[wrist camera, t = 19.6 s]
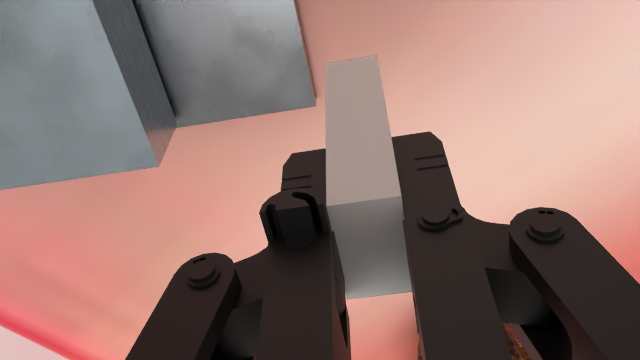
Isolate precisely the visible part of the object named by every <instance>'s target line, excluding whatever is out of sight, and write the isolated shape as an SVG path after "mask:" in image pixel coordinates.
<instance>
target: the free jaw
mask: <svg viewBox="0 0 640 360" xmlns="http://www.w3.org/2000/svg"><path fill="white" fill-rule="evenodd" d="M176 125H177V122H176V120H175V117H174V114H173V111H172V109H171V106H170V103H169V100H168V98H167V95H166V92H165V90H164V87H163V84H162V81H161V79H160V76H159V73H158V70H157V68H156V65H155V62H154V59H153V57H152V54H151V51H150V48H149V46H148V43H147V40H146V37H145V35H144V32H143V29H142V27H141V24H140V21H139V18H138V16H137V13H136V10H135V7H134V5H133V2H132V0H0V190H4V189H10V188H17V187H24V186H31V185H37V184H44V183H51V182H58V181H64V180H71V179H78V178H85V177H91V176H98V175H105V174H112V173H118V172H125V171H132V170H139V169H145V168H152V167H159V165H160V163H161V161H162V158H163V156H164V154H165V151H166V149H167V147H168V144H169V142H170V139H171V137H172V135H173V132H174V130H175V128H176Z"/></svg>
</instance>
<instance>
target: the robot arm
mask: <svg viewBox="0 0 640 360" xmlns="http://www.w3.org/2000/svg"><path fill="white" fill-rule="evenodd" d="M325 112H326V149H319V150H312V151H306V152H299V153H292V154H291V156H290V157H289V159H288V160H287V161H286V163H285V164H284V166H283V173H282V184H281V192H279V193H277V194H275V195H274V196H272V197H270V198H269V199H268V200H267V201H266V202H265V203H264V204H263V205H262V207H261V210H260V212H259V214H260V217H261V220H262V223H263V227H264V230H265V233H266V236H267V240H268V246H267V247H266V248H265V249H264V250H262V251H261V252H259V253H258V254H255V255H253V256H251V257H249V258H246V259H244V260H241V261H238V262H236V263H233V261H232V259H230V258H229V257H228V256H226V255H224V254H219V253H208V254H202V255H199V256H197V257H194V258H192V259H190V260H189V261H187V262H186V263H184V264H183V265H182V266H181V267H180V268H179V269H178V270H177V272H176V273H175V274H174V276H173V278H172V279H171V281H170V283H169V285H168V286H167V288H166V290H165V292H164V293H163V295H162V297H161V298H160V300H159V302H158V304H157V305H156V307H155V309H154V311H153V312H152V314H151V316H150V318H149V319H148V321H147V323H146V325H145V326H144V328H143V330H142V331H141V333H140V335H139V337H138V338H137V340H136V342H135V344H134V345H133V347H132V349H131V351H130V352H129V354H128V356H127V357H126V359H125V360H351V346H350V326H349V316H348V311H347V307H346V300H345V292H346V297H347V299H355V298H364V297H372V296H380V295H388V294H396V293H405V292H413V300H414V308H415V315H416V323H417V331H418V333H419V340H420V346H421V352H422V359H423V360H512V357H511V353H510V350H509V347H508V344H507V340H506V337H505V334H504V330H503V327H502V324H501V322H505V323H510V326H511V328H512V330H513V332H514V333H515V335H516V336H517V338H518V339H519V341H520V342H521V344H522V346H523V347H524V349H525V350H526V352H527V353H528V355H529V356H530V358H531V359H532V360H640V284H639V283H638V282H637V281H636V280H635V279H634V278H633V277H632V276H631V275H630V274H629V273H628V272H627V271H626V270H625V269H624V268H623V267H622V266H621V265H620V264H619V263H618V262H617V261H616V259H615V258H614V257H613V256H612V255H611V254H610V253H609V252H608V251H607V250H606V249H605V248H604V247H603V246H602V245H601V244H600V243H599V242H598V241H597V240H596V239H595V238H594V237H593V236H592V235H591V234H590V233H589V232H588V231H587V230H586V229H585V227H584V226H583V225H582V224H581V223H580V222H579V221H578V220H577V219H575V218H574V217H573V216H571V215H570V214H568V213H567V212H564V211H561V210H558V209H555V208H544V207H539V208H533V209H527V210H525V211H523V212H521V213H519V214H517V215H516V216H515V217H514V218H513V219H512V221H511V222H510V225H507V224H496V223H490V222H484V221H482V220H479V219H476V218H474V217H472V216H471V215H469V214H468V213H467V212H466V211H465V209H464V208H463V207H462V206H461V204H460V201H459V198H458V195H457V191H456V188H455V185H454V181H453V178H452V175H451V171H450V168H449V165H448V161H447V158H446V155H445V151H444V148H443V144H442V141H441V140H439V139H438V138H437V137H436V136H435V135H434V134H432V133H431V132H423V133H416V134H410V135H403V136H396V137H391V133H390V127H389V121H388V116H387V110H386V104H385V98H384V93H383V87H382V81H381V75H380V70H379V64H378V58H377V55H374V56H368V57H362V58H356V59H350V60H344V61H337V62H331V63H325Z"/></svg>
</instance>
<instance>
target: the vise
mask: <svg viewBox="0 0 640 360" xmlns="http://www.w3.org/2000/svg"><path fill="white" fill-rule="evenodd" d="M132 2H133V5H134V7H135V10H136V13H137V16H138V18H139V21H140V24H141V27H142V29H143V32H144V35H145V37H146V40H147V43H148V46H149V48H150V51H151V54H152V57H153V59H154V62H155V65H156V68H157V70H158V73H159V76H160V79H161V81H162V84H163V87H164V90H165V92H166V95H167V98H168V100H169V103H170V106H171V109H172V111H173V114H174V117H175V120H176V122H177V125H176V128H178V127H185V126H191V125H198V124H204V123H210V122H217V121H223V120H230V119H236V118H243V117H249V116H256V115H262V114H268V113H275V112H281V111H288V110H294V109H301V108H307V107H313V106H316V95H315V90H314V85H313V80H312V75H311V71H310V66H309V61H308V56H307V51H306V47H305V42H304V37H303V32H302V27H301V23H300V18H299V13H298V8H297V3H296V0H132Z"/></svg>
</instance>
